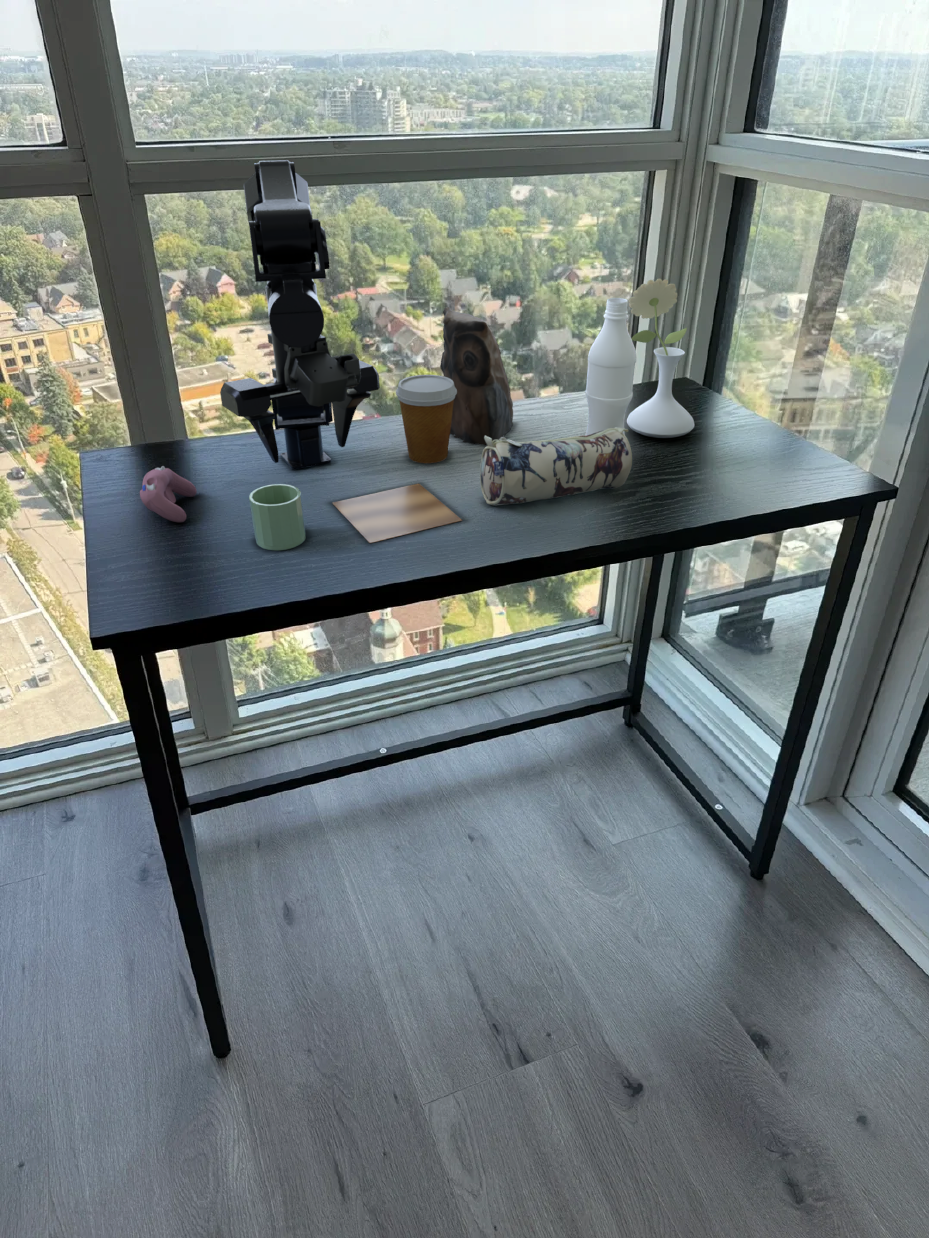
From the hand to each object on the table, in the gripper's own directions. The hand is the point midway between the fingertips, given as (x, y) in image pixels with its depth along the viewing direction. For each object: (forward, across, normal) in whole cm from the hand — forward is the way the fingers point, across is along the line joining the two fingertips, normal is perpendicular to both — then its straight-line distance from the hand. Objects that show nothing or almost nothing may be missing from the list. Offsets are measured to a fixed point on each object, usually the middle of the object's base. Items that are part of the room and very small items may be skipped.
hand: (309, 454), depth 109 cm
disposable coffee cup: (+12, +28, +16) cm, 34 cm away
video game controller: (+12, -13, +21) cm, 27 cm away
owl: (+11, +41, +20) cm, 47 cm away
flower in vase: (+12, +66, +3) cm, 67 cm away
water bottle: (+12, +49, -2) cm, 50 cm away
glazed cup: (+12, -4, +4) cm, 13 cm away
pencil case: (+12, +35, -7) cm, 38 cm away
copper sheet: (+12, +13, +2) cm, 18 cm away
